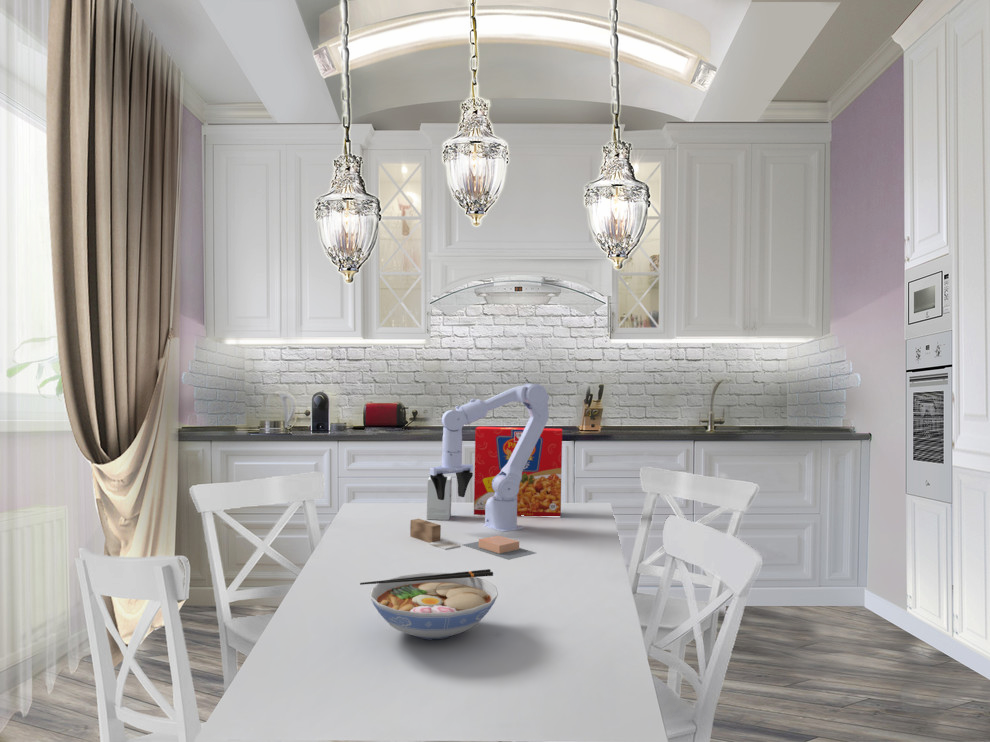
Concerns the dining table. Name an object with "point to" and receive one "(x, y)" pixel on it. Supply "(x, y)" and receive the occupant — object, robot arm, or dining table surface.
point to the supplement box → (439, 501)
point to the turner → (429, 534)
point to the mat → (507, 555)
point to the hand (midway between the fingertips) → (451, 498)
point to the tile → (499, 544)
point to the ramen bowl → (434, 602)
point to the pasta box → (537, 476)
